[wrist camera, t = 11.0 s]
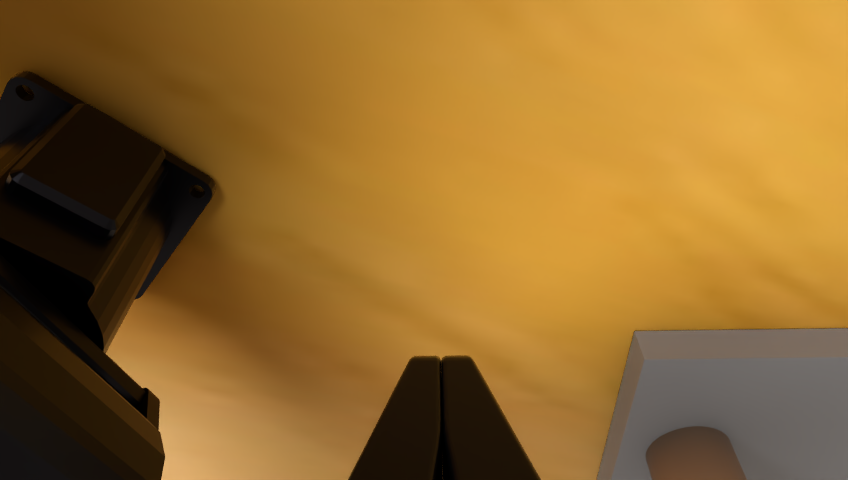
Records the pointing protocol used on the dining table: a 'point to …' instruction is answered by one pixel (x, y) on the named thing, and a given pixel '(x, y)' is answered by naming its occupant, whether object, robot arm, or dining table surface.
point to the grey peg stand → (731, 406)
